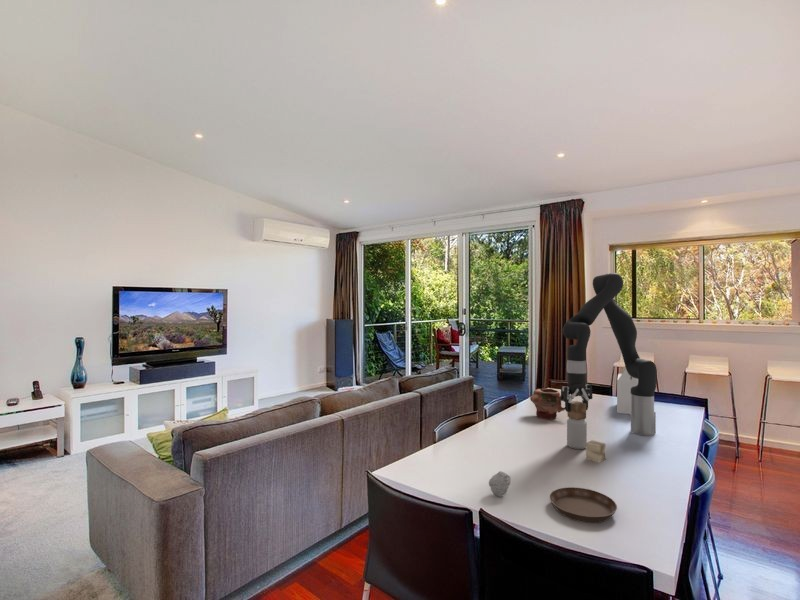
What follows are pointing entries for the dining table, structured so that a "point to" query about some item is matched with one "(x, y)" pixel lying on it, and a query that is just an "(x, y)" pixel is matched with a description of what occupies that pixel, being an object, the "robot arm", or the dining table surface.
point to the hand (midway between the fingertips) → (576, 410)
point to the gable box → (624, 391)
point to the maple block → (595, 451)
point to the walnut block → (577, 410)
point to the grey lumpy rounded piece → (500, 483)
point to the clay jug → (547, 403)
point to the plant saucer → (583, 504)
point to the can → (576, 433)
